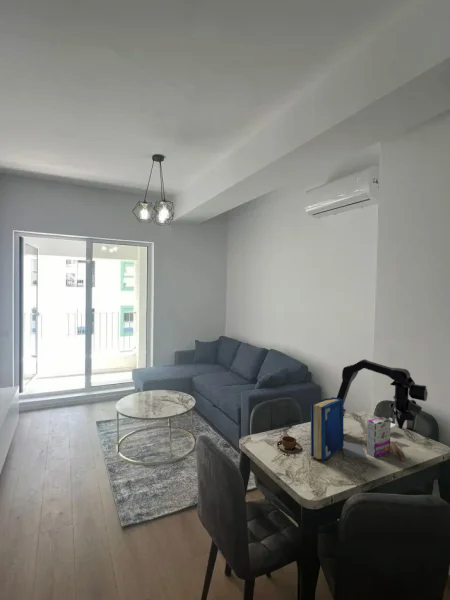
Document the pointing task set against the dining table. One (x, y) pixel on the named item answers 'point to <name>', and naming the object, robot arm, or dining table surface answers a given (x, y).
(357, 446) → the mat
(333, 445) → the book
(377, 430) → the candy bar box
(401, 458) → the back rail
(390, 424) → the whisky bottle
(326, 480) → the dining table surface
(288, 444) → the brown cup and saucer
